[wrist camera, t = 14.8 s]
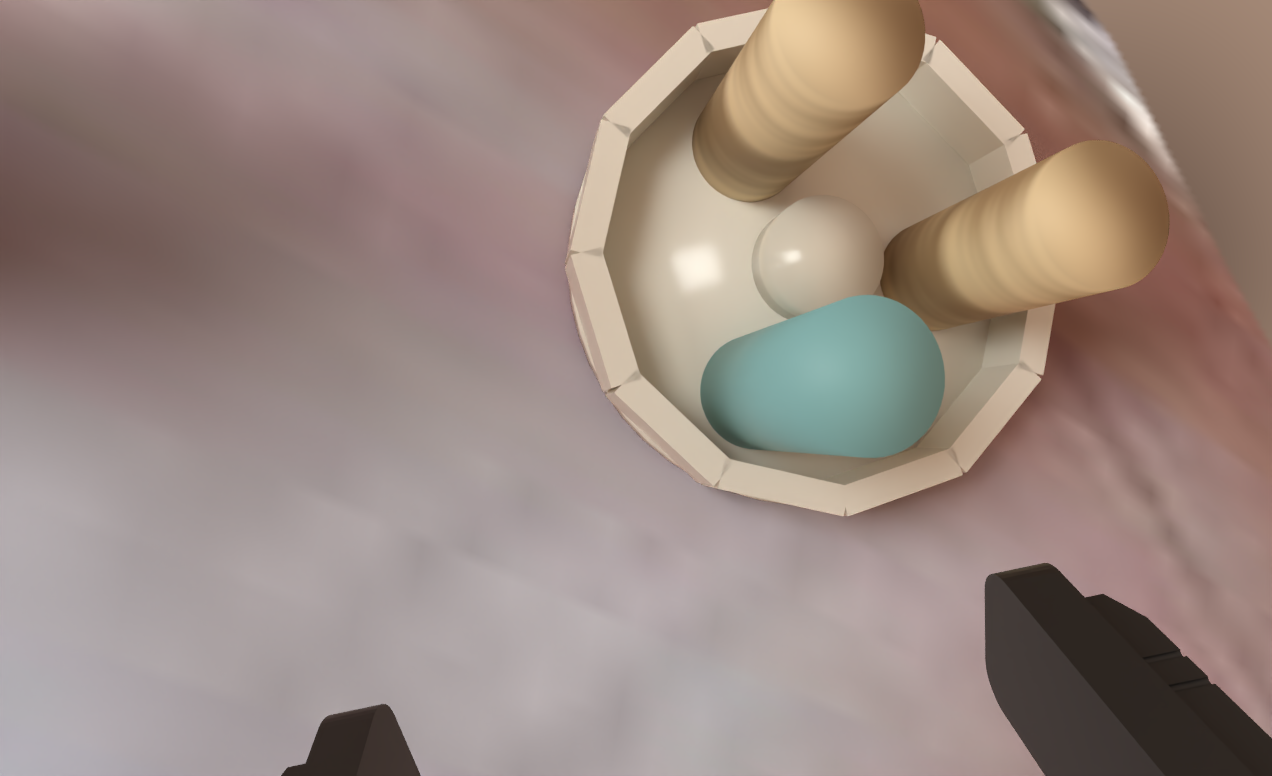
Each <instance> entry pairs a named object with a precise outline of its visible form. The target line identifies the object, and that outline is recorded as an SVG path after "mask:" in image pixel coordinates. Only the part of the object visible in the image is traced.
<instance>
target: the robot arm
mask: <svg viewBox="0 0 1272 776" xmlns="http://www.w3.org/2000/svg"><path fill="white" fill-rule="evenodd" d="M985 659H986V669H987V674H988V678H989V681H990V685H991V687H992V690H993V693H994V695H995V698H996V700H997V702H998V704H999V706H1000V708H1001V709H1002V711H1003V713H1004V714H1005V716H1006V717H1007V719H1008V720H1009V722H1010V723H1011V725H1012V726H1013V728H1014V729H1015V731H1016V732H1017V734H1018V735H1019V737H1020V738H1021V740H1022V741H1023V743H1024V744H1025V746H1026V747H1027V749H1028V750H1029V752H1030V753H1031V755H1032V756H1033V758H1034V759H1035V761H1036V762H1037V764H1038V765H1039V767H1040V768H1041V770H1042V771H1043V773H1044V774H1045V776H1272V738H1271V737H1270V736H1269V735H1268V734H1266V733H1265V732H1264V731H1263V730H1262V729H1261V728H1260V727H1259V726H1258V725H1257V724H1256V723H1255V722H1254V721H1253V720H1252V719H1251V718H1250V717H1249V716H1248V715H1247V714H1246V713H1245V712H1244V711H1243V710H1242V709H1241V708H1240V707H1239V706H1238V705H1237V704H1236V703H1235V702H1233V701H1232V700H1231V699H1230V698H1229V697H1228V696H1227V695H1226V694H1225V693H1224V692H1223V691H1222V690H1221V689H1220V688H1219V687H1218V686H1217V685H1216V684H1211V683H1210V682H1209V680H1208V676H1207V675H1206V674H1205V673H1204V672H1203V671H1202V670H1201V669H1199V668H1198V667H1197V666H1196V665H1195V664H1194V663H1193V662H1192V661H1191V660H1190V659H1189V658H1188V657H1187V656H1185V657H1183V656H1182V654H1181V652H1180V649H1179V648H1178V647H1177V646H1176V645H1175V644H1174V643H1173V642H1172V641H1171V640H1170V639H1169V638H1168V637H1166V636H1165V635H1164V634H1163V633H1162V632H1161V631H1160V630H1159V629H1158V628H1157V627H1156V626H1155V625H1154V624H1153V623H1152V622H1151V621H1150V620H1149V619H1148V618H1147V617H1145V616H1143V615H1141V614H1139V613H1138V612H1136V611H1134V610H1132V609H1130V608H1128V607H1126V606H1125V605H1123V604H1121V603H1119V602H1117V601H1115V600H1114V599H1112V598H1110V597H1108V596H1106V595H1104V594H1100V595H1095V596H1091V597H1086V598H1085V597H1084V596H1083V595H1082V594H1081V593H1080V592H1079V591H1078V590H1077V589H1076V588H1075V587H1074V586H1073V585H1072V584H1071V583H1070V582H1069V581H1068V580H1067V579H1066V577H1065V576H1064V575H1063V574H1062V573H1061V572H1060V571H1059V570H1058V569H1057V568H1056V567H1054V566H1053V565H1051V564H1048V563H1042V564H1037V565H1033V566H1028V567H1023V568H1018V569H1014V570H1009V571H1004V572H999V573H995V574H991V575H989V576H988V577H987V579H986V582H985ZM281 776H421V775H420V773H419V771H418V768H417V766H416V764H415V762H414V759H413V757H412V755H411V752H410V750H409V748H408V745H407V743H406V741H405V738H404V736H403V734H402V731H401V729H400V727H399V725H398V722H397V720H396V718H395V715H394V713H393V711H392V710H391V708H390V707H389V706H388V705H386V704H381V705H376V706H372V707H367V708H362V709H357V710H353V711H348V712H343V713H338V714H333V715H329V716H327V717H326V718H325V719H324V720H323V721H322V723H321V724H320V727H319V729H318V732H317V734H316V737H315V740H314V742H313V745H312V748H311V751H310V753H309V756H308V759H307V761H306V764H302V765H297V766H292V767H288V768H287V769H286V770H285V771H284V773H283V774H282V775H281Z"/></svg>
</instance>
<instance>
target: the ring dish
mask: <svg viewBox="0 0 1272 776" xmlns="http://www.w3.org/2000/svg"><path fill="white" fill-rule="evenodd" d="M766 11H767V9H763V10H758V11H754V12H749V13H744V14H740V15H735V16H731V17H726V18H721V19H717V20H712V21H707V22H703V23H698V24H697V25H696V27H694V26H692V27H691V28H690V29H689V30H688V31H687V32H686V33H685V34H684V35H683V36H682V37H681V38H680V39H679V40H678V41H677V42H676V43H675V44H674V45H673V46H672V47H671V48H670V49H669V50H668V51H667V52H666V53H665V54H664V55H663V56H662V57H661V58H660V59H659V60H658V61H657V62H656V63H655V64H654V65H653V66H652V67H651V68H650V69H649V70H648V71H647V72H646V73H645V74H644V75H643V76H642V77H641V78H640V79H639V80H638V81H637V82H636V83H635V84H634V85H633V86H632V87H631V88H630V89H629V90H628V91H627V92H626V93H625V94H624V95H623V96H622V97H621V98H620V99H619V100H618V101H617V102H616V103H615V104H614V105H613V106H612V107H611V108H610V109H609V110H608V111H607V112H606V113H605V114H604V115H603V118H602V119H601V121H600V124H599V127H598V130H597V133H596V136H595V139H594V142H593V145H592V150H591V154H590V158H589V162H588V167H587V171H586V173H585V176H584V179H583V182H582V185H581V188H580V192H579V195H578V198H577V201H576V205H575V208H574V211H573V217H572V223H571V229H570V236H569V243H568V252H567V256H566V260H565V264H566V267H565V271H566V275H567V278H568V282H569V291H570V301H571V307H572V311H573V315H574V320H575V324H576V328H577V332H578V336H579V339H580V341H581V344H582V346H583V349H584V352H585V354H586V357H587V360H588V362H589V365H590V367H591V369H592V370H593V372H594V374H595V376H596V378H597V380H598V382H599V383H600V386H601V389H602V392H603V391H604V393H605V394H606V395H605V396H606V397H607V398H608V399H609V400H610V401H611V403H612V404H613V405H614V407H615V408H616V409H617V411H618V412H619V414H620V415H621V416H622V418H623V419H624V420H625V421H626V422H627V423H628V424H629V425H630V426H631V428H632V429H633V430H634V431H635V432H636V433H637V434H638V435H639V436H640V437H641V438H642V439H643V440H644V441H645V442H646V443H647V444H648V445H650V446H651V447H652V448H653V449H654V450H656V451H657V452H658V453H659V454H660V455H662V456H663V457H664V458H665V459H667V460H668V461H669V462H671V463H672V464H674V465H676V466H677V467H679V468H681V469H682V470H684V471H685V472H686V473H687V474H688V475H690V476H691V477H692V478H693V479H694V480H695V481H696V482H697V483H701V485H705V486H709V487H713V488H717V489H721V490H726V491H729V492H733V493H736V494H739V495H743V496H746V497H750V498H753V499H757V500H763V501H769V502H776V503H783V504H789V505H793V506H798V507H802V508H807V509H811V510H816V511H821V512H825V513H830V514H834V515H839V516H843V517H844V515H845V516H851V515H854V514H856V513H859V512H862V511H865V510H868V509H870V508H873V507H876V506H879V505H881V504H884V503H887V502H890V501H893V500H895V499H898V498H901V497H904V496H907V495H909V494H912V493H915V492H918V491H921V490H923V489H926V488H929V487H932V486H935V485H937V484H940V483H943V482H946V481H948V480H951V479H954V478H957V477H960V476H962V475H963V474H962V472H966V473H967V472H968V470H969V469H970V468H971V467H972V465H973V464H974V463H975V462H976V460H977V459H978V458H979V457H980V455H981V454H982V453H983V452H984V450H985V449H986V448H987V447H988V445H989V444H990V443H991V442H992V440H993V439H994V438H995V437H996V435H997V434H998V433H999V432H1000V430H1001V429H1002V428H1003V427H1004V425H1005V424H1006V423H1007V422H1008V420H1009V419H1010V418H1011V417H1012V415H1013V414H1014V413H1015V412H1016V410H1017V409H1018V408H1019V407H1020V405H1021V404H1022V403H1023V402H1024V400H1025V399H1026V398H1027V397H1028V395H1029V394H1030V393H1031V392H1032V391H1033V389H1034V388H1035V387H1036V386H1037V384H1038V383H1039V382H1040V381H1041V379H1040V377H1039V375H1043V374H1044V368H1045V362H1046V356H1047V350H1048V345H1049V339H1050V333H1051V327H1052V321H1053V315H1054V309H1055V304H1051V305H1047V306H1043V307H1038V308H1034V309H1030V310H1025V311H1021V312H1017V313H1012V314H1008V315H1004V316H999V317H995V318H991V319H986V320H982V321H978V322H973V323H969V324H965V325H960V326H956V327H952V328H947V329H943V330H938V331H931V332H932V334H933V335H934V337H935V339H936V341H937V343H938V346H939V348H940V351H941V354H942V358H943V363H944V371H945V388H944V395H943V399H942V403H941V407H940V409H939V412H938V414H937V416H936V418H935V420H934V422H933V423H932V425H931V426H930V428H929V429H928V430H927V432H926V433H925V434H924V435H923V436H922V437H921V438H920V439H919V440H918V441H917V442H915V443H914V444H913V445H912V446H910V447H908V448H907V449H905V450H903V451H901V452H899V453H896V454H894V455H890V456H886V457H879V458H862V457H848V456H835V455H822V454H808V453H795V452H781V451H768V450H755V449H746V448H742V447H739V446H736V445H734V444H732V443H729V442H728V441H726V440H725V439H723V438H722V437H721V436H720V435H719V434H718V433H717V432H716V431H715V430H714V429H713V428H712V426H711V425H710V423H709V422H708V420H707V418H706V416H705V414H704V411H703V408H702V403H701V396H700V385H701V379H702V375H703V372H704V369H705V367H706V365H707V363H708V361H709V360H710V358H711V357H712V356H713V354H714V353H715V352H716V351H717V350H718V349H719V348H720V347H722V346H723V345H724V344H726V343H727V342H729V341H731V340H733V339H736V338H739V337H741V336H744V335H747V334H750V333H752V332H755V331H758V330H760V329H763V328H766V327H769V326H771V325H774V324H777V323H780V322H782V321H785V320H788V319H790V318H793V317H796V316H799V315H801V314H804V313H807V312H810V311H812V310H815V309H818V308H820V307H823V306H826V305H829V304H831V303H834V302H837V301H840V300H842V299H845V298H848V297H853V296H858V295H876V296H882V297H884V295H883V292H882V289H881V285H880V280H881V277H882V273H883V267H884V251H885V249H886V247H887V246H888V244H889V243H890V241H891V240H892V239H893V238H894V237H895V236H896V235H897V234H898V233H899V232H901V231H902V230H904V229H906V228H908V227H910V226H912V225H914V224H916V223H918V222H920V221H922V220H924V219H926V218H928V217H930V216H932V215H934V214H936V213H938V212H940V211H942V210H944V209H946V208H948V207H950V206H952V205H954V204H956V203H958V202H960V201H962V200H964V199H966V198H968V197H970V196H972V195H974V194H976V193H978V192H980V191H982V190H984V189H986V188H988V187H990V186H992V185H994V184H996V183H998V182H1000V181H1002V180H1004V179H1006V178H1008V177H1010V176H1012V175H1014V174H1016V173H1018V172H1020V171H1022V170H1024V169H1026V168H1028V167H1030V166H1032V165H1034V164H1036V160H1035V157H1034V154H1033V151H1032V147H1031V144H1030V141H1029V138H1028V134H1027V133H1026V134H1023V135H1020V134H1021V133H1022V132H1023V130H1024V128H1023V127H1022V126H1021V125H1020V124H1019V123H1018V121H1017V120H1016V119H1015V118H1014V117H1013V116H1012V115H1011V114H1010V113H1009V112H1008V111H1007V110H1006V109H1005V108H1004V107H1003V106H1002V105H1001V104H1000V102H999V101H998V100H997V99H996V98H995V97H994V96H993V95H992V94H991V93H990V92H989V91H988V90H987V89H986V88H985V87H984V86H983V85H982V83H981V82H980V81H979V80H978V79H977V78H976V77H975V76H974V75H973V74H972V73H971V72H970V71H969V70H968V69H967V68H966V67H965V66H964V64H963V63H962V62H961V61H960V60H959V59H958V58H957V57H956V56H955V55H954V54H953V53H952V52H951V51H950V50H949V49H948V48H947V47H946V45H945V44H944V43H943V42H942V41H941V40H939V41H938V42H937V43H936V44H935V40H936V37H934V36H931V35H928V34H925V46H924V52H923V56H922V59H921V62H920V64H919V67H918V69H917V71H916V72H915V74H914V76H913V77H912V78H911V80H910V81H909V82H908V83H907V84H906V85H905V86H904V87H903V88H902V89H901V90H900V91H899V92H897V93H896V94H895V95H894V96H893V97H892V98H890V99H889V100H888V101H887V102H886V103H885V104H883V105H882V106H881V107H880V108H879V109H877V110H876V111H875V112H874V113H873V114H872V115H870V116H869V117H868V118H867V119H866V120H864V121H863V122H862V123H861V124H860V125H859V126H857V127H856V128H855V129H854V130H853V131H851V132H850V133H849V134H848V135H847V136H846V137H844V138H843V139H842V140H841V141H840V142H838V143H837V144H836V145H835V146H834V147H833V148H831V149H830V150H829V151H828V152H827V153H826V154H824V155H823V156H822V157H821V158H820V159H818V160H817V161H816V162H815V163H814V164H813V165H811V166H810V167H809V168H808V169H807V170H805V171H804V172H803V173H802V174H801V175H800V176H798V177H797V178H796V179H795V180H794V181H792V182H791V183H790V184H789V185H788V186H787V187H785V188H784V189H783V190H782V191H781V192H779V193H778V194H776V195H775V196H773V197H771V198H768V199H765V200H762V201H757V202H742V201H738V200H734V199H731V198H728V197H726V196H724V195H722V194H721V193H719V192H718V191H716V190H715V189H714V188H713V187H711V186H710V185H709V184H708V182H707V181H706V180H705V179H704V178H703V176H702V175H701V173H700V171H699V169H698V167H697V165H696V162H695V160H694V156H693V150H692V136H693V130H694V127H695V123H696V121H697V119H698V117H699V115H700V114H701V112H702V111H703V109H704V108H705V106H706V104H707V103H708V101H709V100H710V98H711V97H712V95H713V94H714V92H715V90H716V89H717V87H718V86H719V84H720V83H721V81H722V80H723V78H724V76H725V75H726V73H727V72H728V70H729V69H730V67H731V66H732V64H733V62H734V61H735V59H736V58H737V56H738V55H739V53H740V52H741V50H742V48H743V47H744V45H745V44H746V42H747V41H748V39H749V38H750V36H751V34H752V33H753V31H754V30H755V28H756V27H757V25H758V23H759V22H760V20H761V19H762V17H763V16H764V14H765V13H766Z"/></svg>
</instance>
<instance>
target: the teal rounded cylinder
mask: <svg viewBox="0 0 1272 776" xmlns="http://www.w3.org/2000/svg"><path fill="white" fill-rule="evenodd" d="M944 388H945V371H944V363H943V358H942V354H941V351H940V348H939V346H938V343H937V341H936V339H935V337H934V335H933V334H932V332H931V331H930V329H929V328H928V326H927V325H926V324H925V323H924V321H923V320H922V319H921V318H920V317H919V316H918V315H917V314H916V313H914V312H913V311H912V310H910V309H909V308H908V307H906V306H905V305H903V304H901V303H899V302H897V301H895V300H892V299H889V298H886V297H882V296H876V295H858V296H853V297H848V298H845V299H842V300H840V301H837V302H834V303H831V304H829V305H826V306H823V307H820V308H818V309H815V310H812V311H810V312H807V313H804V314H801V315H799V316H796V317H793V318H790V319H788V320H785V321H782V322H780V323H777V324H774V325H771V326H769V327H766V328H763V329H760V330H758V331H755V332H752V333H750V334H747V335H744V336H741V337H739V338H736V339H733V340H731V341H729V342H727V343H726V344H724V345H723V346H722V347H720V348H719V349H718V350H717V351H716V352H715V353H714V354H713V356H712V357H711V358H710V360H709V361H708V363H707V365H706V367H705V369H704V372H703V375H702V379H701V385H700V396H701V403H702V408H703V411H704V414H705V416H706V418H707V420H708V422H709V423H710V425H711V426H712V428H713V429H714V430H715V431H716V432H717V433H718V434H719V435H720V436H721V437H722V438H723V439H725V440H726V441H728V442H729V443H732V444H734V445H736V446H739V447H742V448H746V449H755V450H768V451H781V452H795V453H808V454H822V455H835V456H848V457H862V458H879V457H886V456H890V455H894V454H896V453H899V452H901V451H903V450H905V449H907V448H908V447H910V446H912V445H913V444H914V443H915V442H917V441H918V440H919V439H920V438H921V437H922V436H923V435H924V434H925V433H926V432H927V430H928V429H929V428H930V426H931V425H932V423H933V422H934V420H935V418H936V416H937V414H938V412H939V409H940V407H941V403H942V399H943V395H944Z"/></svg>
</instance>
